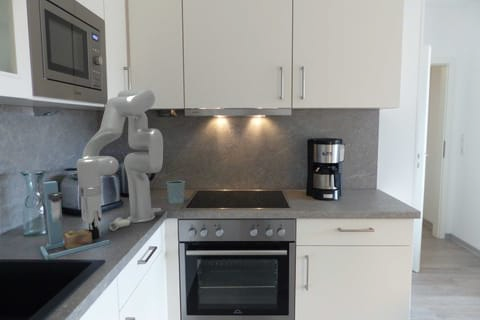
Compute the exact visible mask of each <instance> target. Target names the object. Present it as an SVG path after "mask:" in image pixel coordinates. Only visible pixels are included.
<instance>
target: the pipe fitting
mask: <svg viewBox="0 0 480 320" xmlns="http://www.w3.org/2000/svg"><path fill="white" fill-rule="evenodd" d="M130 224H131V222H130V221H129V220H128V219H127V218H125V219H124V218H122V217H121V216H119V217H117V218H115V219H114V220H113V221H112V222H110V223H109V227H108V228H109V230H110V231H112V232H114V231H117V230H119V229H121V228H127V227H129V226H130Z"/></svg>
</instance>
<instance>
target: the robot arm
mask: <svg viewBox="0 0 480 320" xmlns="http://www.w3.org/2000/svg"><path fill="white" fill-rule="evenodd" d="M155 101H156V97H155V93H154V92H153V91H152V89H148V88H133V89H126V90H122V91H119V92H118V94H117V96H114V97H111V98H109V99H108V100H107V102H106V104H105V108H104V113H103V117H102V119H101V124H100V127H99V129H98V131H97V132H96V133H95V134H94V135H93V136H92V137H91V138H90V139H89V141H87V143H86V145H85V146H84V149H83V152H82V156H81V159H78V160H77V162H76V170H77V171H76V174H77V183H78V193H79V194H78V195H79V197H80V198H81V201H80V203H81V205H80V206H81V219H82V221H84V222H85V223H86V224H87V227H88V230H89V231H90V232H91V233H92V241H95V240H98V239H100V238H101V237H100V236H99V234H100V230H99V229H100V222H102V221H103V214H102V206H101V197H100V196H101V195H102V185H101V182H102V181H101V177H102V176H111V175H114V174H116V172H118V170H119V166H120V164H119V161H118V160H117V159H116V157H114V156H109V155H106V156H105V155H99V153H100V151H101V150H102V149H103V148H104V147H105V146H107V145H108V144H111V143H112V142H115V141H116V140H118V139H119V138H120V137H121V136H122V134H123V130H124V125H125V122H126V118H128V119H127V121H128V130H127V131H128V135H127V137H128V138H127V139H128V146H129V148H131V149H133V150H148V152H145V151H144V152H143V151H142V152H141V151H138V152H137V151H136V152H131V153H128V154H127V155H126V156H125V157H124V160H123V164H124V168H125V172H126V177H127V187H128V199H129V213H130V216H128V217H127V218H126V219H128V220H129V221H130V223H145V222H150V221H152V220H154V219H156V215H155V214H156V213H161V212H162V208H161V207H158V208H156V207H152V201H151V190H150V189H151V188H150V187H151V185H150V184H151V183H150V179H149V177H148V175H147V174H157V173H159V172H160V171H161V170H162V167H163V161H164V137H163V135H162V133H161V131H160V130H159V129H158V128H148V127H149V124H148V120H149V119H148V116H147V115H146V113H145V112H147V111H148V110H150V109H151V108H152V107H153V106H154V104H155Z"/></svg>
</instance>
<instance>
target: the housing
mask: <svg viewBox="0 0 480 320" xmlns="http://www.w3.org/2000/svg"><path fill="white" fill-rule="evenodd" d="M63 240H64V241H65V246H64V248H66V250H69V249H73V248H78V247H82V246H86V245H90V244H93V240H92V233H91V232H90V231H89V228H84V229H81V230H79V229H78V230H76V231H73V230H69V231H68V233H67V232H66V233H63Z"/></svg>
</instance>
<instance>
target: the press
mask: <svg viewBox="0 0 480 320" xmlns="http://www.w3.org/2000/svg"><path fill="white" fill-rule="evenodd" d="M42 189H43V198H44V207H45V213H46V214H45V215H46V224H47V234H48V242H47V243H45V244H46V245H45V246H43V245H41V246H40V253H41V254H42V256H43V258H44V260H45V261H47V260H50V259H54V258H59V257H62V256H67V255H71V254H73V253H77V252H78V253H79V252H83V251H86V250H90V249H95V248H98V247H101V246H105V245H110V240H109V239H107V240H102V241H98V242H94V243H92V244H90V245H86V246H82V247H78V248H73V249H69V250H67V249H66V250H65V249H64V250H62V251H58V252H54V253H50V254H49V253H48V252H47V251H49V250H52V249H56V248H62V247H65V241H64V234H63V229H62V228H63V226H62V220H61V221H58V222H53V219H52V209H51V200H48V196H47V195H48V194H51V193H59V187H58V181H56V180H53V181H45V182H44V181H43V182H42ZM99 236H100V238H102V233H99Z"/></svg>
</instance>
